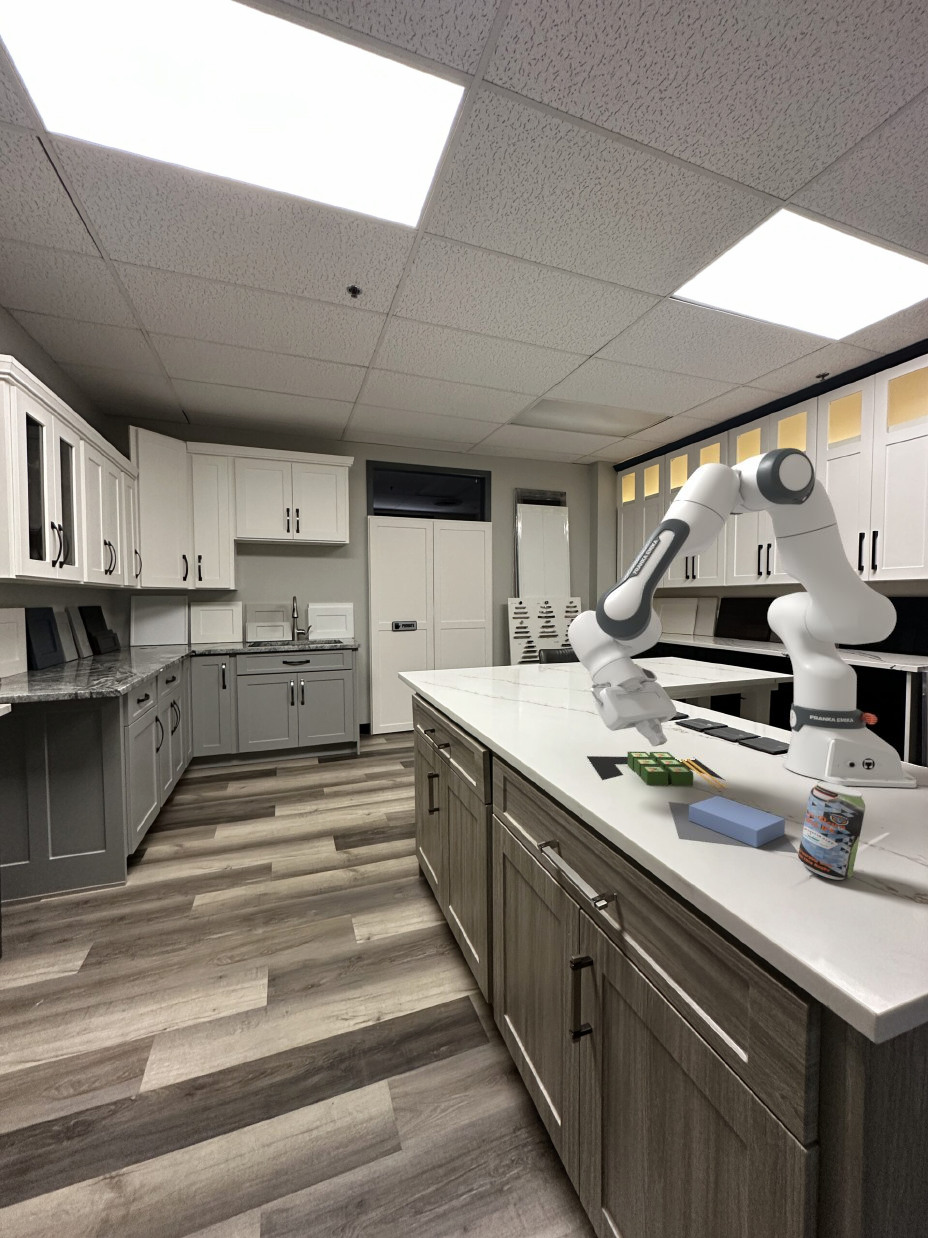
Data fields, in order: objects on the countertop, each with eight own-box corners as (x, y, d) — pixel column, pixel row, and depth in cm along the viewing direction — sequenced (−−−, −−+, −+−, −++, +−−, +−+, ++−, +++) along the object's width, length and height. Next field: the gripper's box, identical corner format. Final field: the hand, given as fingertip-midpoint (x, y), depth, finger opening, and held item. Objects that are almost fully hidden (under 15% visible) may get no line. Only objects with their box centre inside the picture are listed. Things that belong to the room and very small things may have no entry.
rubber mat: (768, 814, 88) (768, 812, 88) (798, 855, 73) (798, 853, 73) (668, 804, 92) (668, 802, 92) (678, 841, 78) (679, 838, 78)
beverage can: (787, 862, 71) (789, 778, 71) (836, 860, 72) (838, 776, 72) (822, 887, 65) (824, 794, 65) (875, 885, 66) (878, 793, 65)
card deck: (689, 805, 84) (756, 830, 75) (717, 795, 88) (785, 818, 79) (688, 821, 84) (756, 848, 75) (717, 811, 88) (784, 835, 79)
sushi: (749, 802, 95) (749, 782, 95) (613, 800, 96) (613, 781, 96) (694, 761, 120) (694, 745, 120) (586, 760, 121) (586, 744, 121)
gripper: (598, 674, 93) (641, 741, 86) (658, 671, 106) (699, 730, 99) (576, 694, 96) (616, 760, 89) (636, 689, 109) (675, 746, 102)
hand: (660, 744), depth 94 cm, fingers closed
